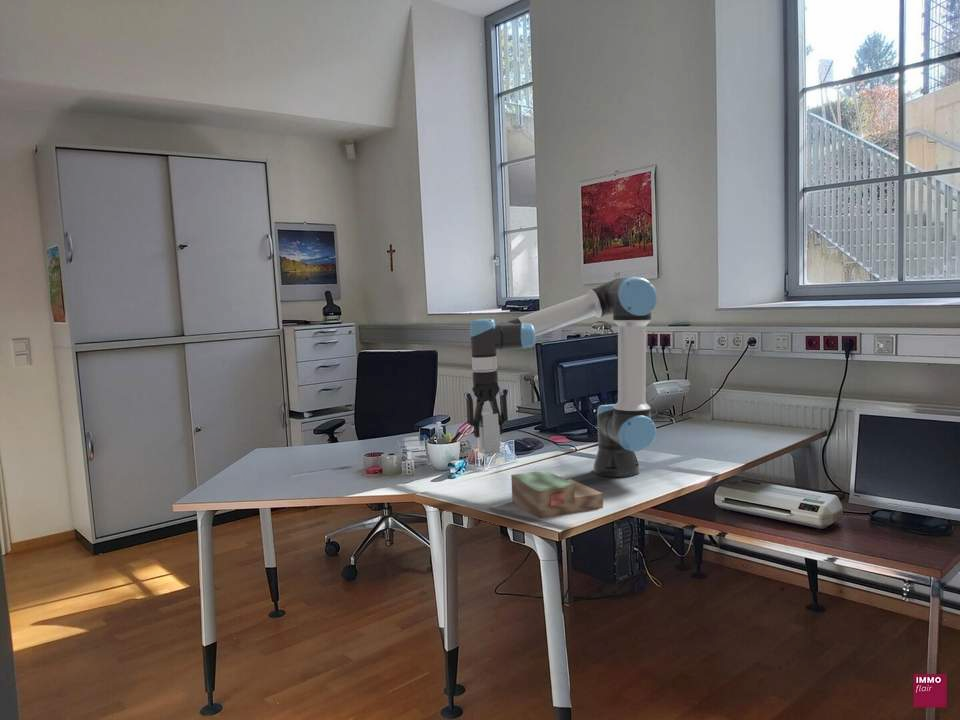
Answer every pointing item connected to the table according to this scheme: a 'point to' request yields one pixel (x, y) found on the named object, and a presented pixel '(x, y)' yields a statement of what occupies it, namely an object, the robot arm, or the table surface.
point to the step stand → (552, 494)
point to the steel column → (490, 433)
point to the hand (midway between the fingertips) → (489, 446)
